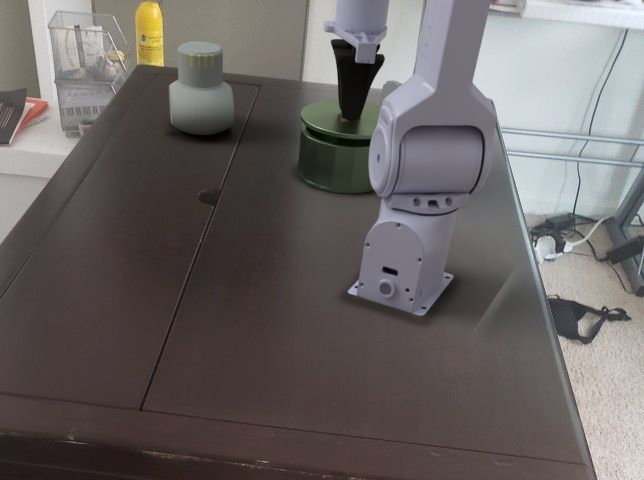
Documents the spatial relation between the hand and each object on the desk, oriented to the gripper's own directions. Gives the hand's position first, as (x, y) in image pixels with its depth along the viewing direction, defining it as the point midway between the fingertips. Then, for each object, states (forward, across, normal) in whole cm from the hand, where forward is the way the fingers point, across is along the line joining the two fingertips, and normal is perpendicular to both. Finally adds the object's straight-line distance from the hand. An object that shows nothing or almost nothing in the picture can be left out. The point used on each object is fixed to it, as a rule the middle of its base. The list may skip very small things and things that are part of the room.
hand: (349, 113), depth 89 cm
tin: (+7, 0, 0) cm, 7 cm away
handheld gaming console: (+8, -8, +9) cm, 14 cm away
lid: (+1, 0, 0) cm, 1 cm away
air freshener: (+8, -14, -18) cm, 24 cm away
